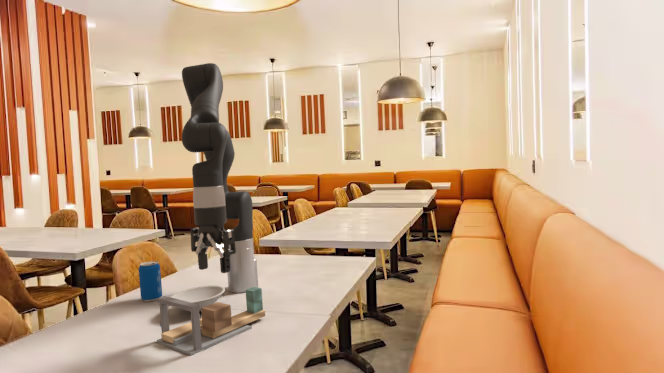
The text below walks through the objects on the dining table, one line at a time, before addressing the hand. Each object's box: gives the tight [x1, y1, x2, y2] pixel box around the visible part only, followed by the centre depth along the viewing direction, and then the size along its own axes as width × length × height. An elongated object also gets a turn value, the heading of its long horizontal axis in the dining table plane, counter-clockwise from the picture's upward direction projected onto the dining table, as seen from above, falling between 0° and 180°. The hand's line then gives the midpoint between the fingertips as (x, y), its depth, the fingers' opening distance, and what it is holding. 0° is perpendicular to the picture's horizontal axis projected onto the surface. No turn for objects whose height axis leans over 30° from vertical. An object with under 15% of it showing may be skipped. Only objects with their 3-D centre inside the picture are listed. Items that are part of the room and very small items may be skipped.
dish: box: [170, 284, 226, 312], centre depth 128 cm, size 18×14×5 cm
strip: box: [201, 287, 266, 338], centre depth 111 cm, size 17×5×8 cm, turn 143°
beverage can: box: [138, 260, 163, 303], centre depth 141 cm, size 6×6×12 cm
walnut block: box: [200, 301, 232, 332], centre depth 107 cm, size 5×5×5 cm
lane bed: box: [156, 295, 252, 356], centre depth 108 cm, size 18×14×11 cm
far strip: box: [160, 322, 203, 343], centre depth 106 cm, size 8×5×2 cm, turn 143°
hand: (214, 270), depth 106 cm, fingers open, 8 cm apart
